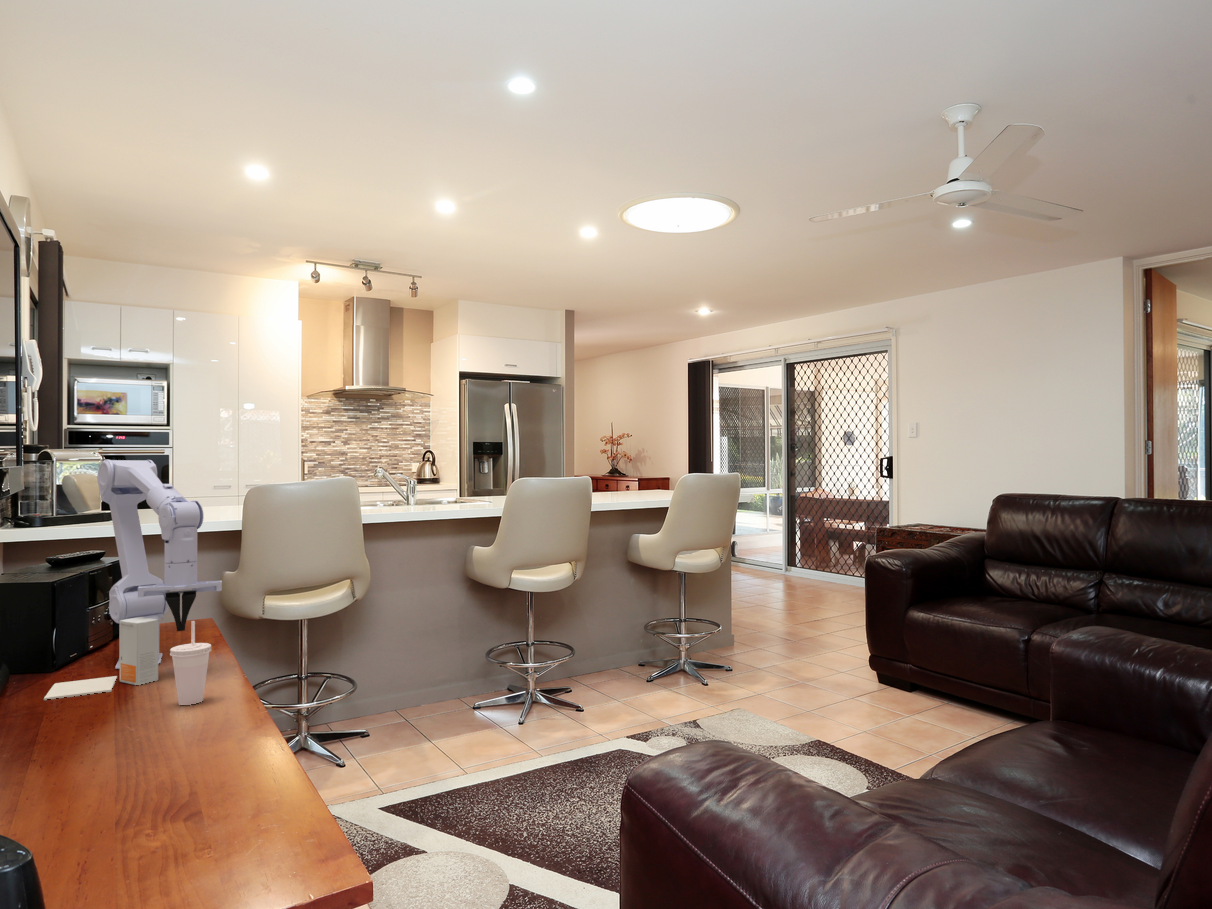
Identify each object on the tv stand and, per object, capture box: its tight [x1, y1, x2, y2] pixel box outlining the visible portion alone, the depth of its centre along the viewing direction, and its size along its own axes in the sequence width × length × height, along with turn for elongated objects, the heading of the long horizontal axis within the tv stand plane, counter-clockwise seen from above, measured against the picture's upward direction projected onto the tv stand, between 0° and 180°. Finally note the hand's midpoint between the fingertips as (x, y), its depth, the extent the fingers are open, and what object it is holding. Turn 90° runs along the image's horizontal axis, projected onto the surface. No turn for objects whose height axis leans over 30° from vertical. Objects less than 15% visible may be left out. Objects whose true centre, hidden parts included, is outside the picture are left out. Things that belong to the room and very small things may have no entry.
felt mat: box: [43, 675, 118, 701], centre depth 139 cm, size 11×10×1 cm
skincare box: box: [119, 617, 159, 686], centre depth 143 cm, size 6×4×12 cm
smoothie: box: [169, 620, 213, 706], centre depth 129 cm, size 6×6×14 cm
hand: (180, 630), depth 147 cm, fingers closed
